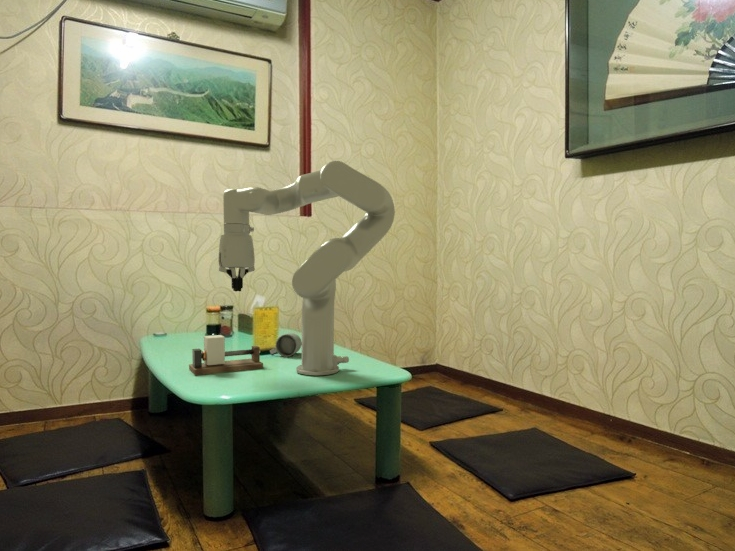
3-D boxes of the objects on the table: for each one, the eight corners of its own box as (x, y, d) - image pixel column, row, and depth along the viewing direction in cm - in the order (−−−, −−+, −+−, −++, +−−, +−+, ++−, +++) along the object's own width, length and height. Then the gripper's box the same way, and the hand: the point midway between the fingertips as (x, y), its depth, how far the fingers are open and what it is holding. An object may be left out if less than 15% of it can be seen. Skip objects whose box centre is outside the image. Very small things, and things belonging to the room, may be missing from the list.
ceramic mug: (302, 352, 179) (302, 331, 179) (297, 357, 171) (296, 334, 171) (273, 352, 181) (273, 331, 180) (266, 356, 172) (266, 334, 172)
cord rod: (252, 360, 158) (252, 344, 158) (255, 362, 155) (255, 345, 155) (192, 365, 149) (192, 349, 149) (194, 367, 147) (194, 350, 146)
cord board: (254, 362, 161) (254, 344, 161) (263, 368, 154) (263, 348, 153) (189, 369, 152) (188, 349, 152) (194, 375, 144) (194, 354, 144)
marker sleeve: (220, 360, 154) (220, 334, 154) (224, 363, 150) (224, 337, 150) (204, 362, 152) (203, 336, 152) (207, 365, 147) (207, 338, 147)
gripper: (256, 231, 160) (257, 289, 161) (208, 230, 153) (209, 291, 153) (264, 230, 154) (265, 290, 154) (214, 229, 146) (215, 292, 147)
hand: (237, 290), depth 154 cm, fingers closed
